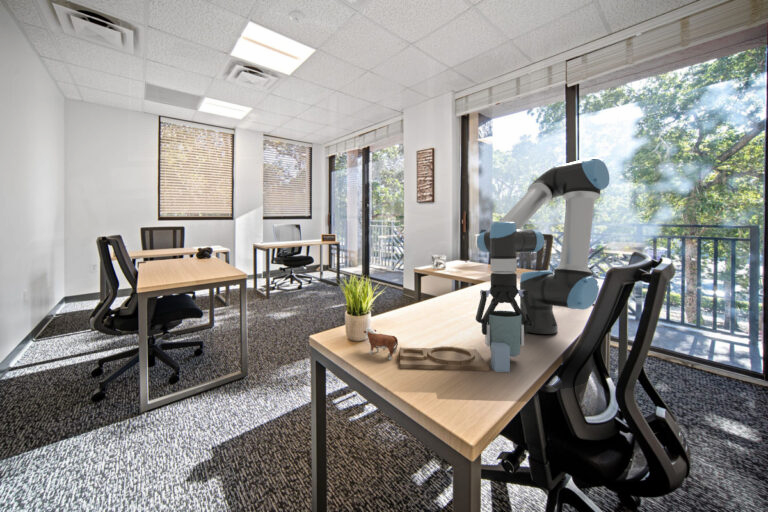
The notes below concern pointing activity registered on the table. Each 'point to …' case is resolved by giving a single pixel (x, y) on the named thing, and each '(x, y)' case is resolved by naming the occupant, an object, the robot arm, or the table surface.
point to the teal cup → (506, 330)
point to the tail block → (500, 357)
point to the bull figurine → (381, 341)
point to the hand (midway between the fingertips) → (504, 344)
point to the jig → (442, 358)
